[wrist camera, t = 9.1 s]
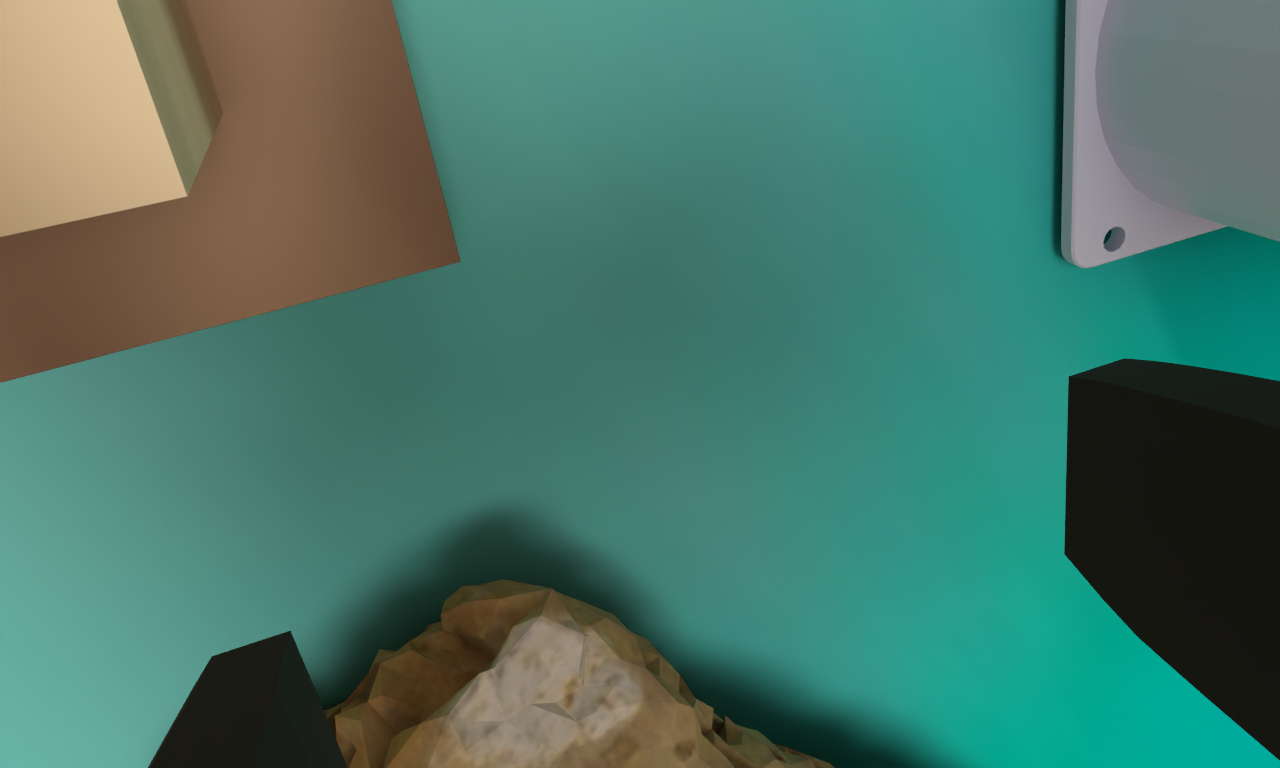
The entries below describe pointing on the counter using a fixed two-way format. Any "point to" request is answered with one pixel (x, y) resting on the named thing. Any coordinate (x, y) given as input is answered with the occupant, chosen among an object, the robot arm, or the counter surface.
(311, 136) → the walnut base
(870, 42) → the counter surface
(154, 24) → the maple cube
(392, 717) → the brown rock
